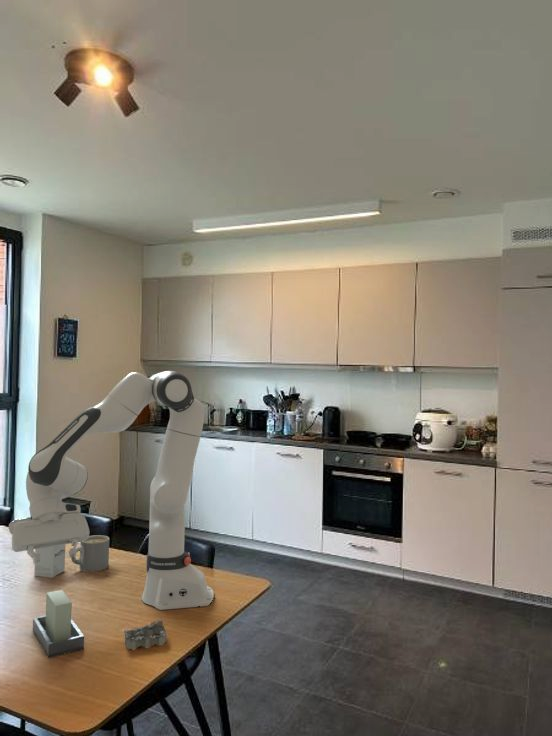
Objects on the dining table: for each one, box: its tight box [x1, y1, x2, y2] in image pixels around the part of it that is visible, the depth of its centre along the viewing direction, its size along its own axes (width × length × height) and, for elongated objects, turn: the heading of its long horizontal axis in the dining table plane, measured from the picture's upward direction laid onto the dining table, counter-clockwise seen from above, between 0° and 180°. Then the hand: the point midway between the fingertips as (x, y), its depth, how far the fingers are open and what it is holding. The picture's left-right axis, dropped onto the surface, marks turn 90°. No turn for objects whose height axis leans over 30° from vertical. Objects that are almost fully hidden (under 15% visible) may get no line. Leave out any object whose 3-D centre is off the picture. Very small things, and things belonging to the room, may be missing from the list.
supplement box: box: [34, 544, 67, 579], centre depth 193 cm, size 7×7×13 cm
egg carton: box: [123, 620, 168, 651], centre depth 146 cm, size 11×8×4 cm
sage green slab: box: [45, 589, 73, 642], centre depth 146 cm, size 4×10×10 cm, turn 35°
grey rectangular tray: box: [32, 614, 85, 659], centre depth 146 cm, size 9×18×3 cm, turn 35°
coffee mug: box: [70, 534, 110, 573], centre depth 200 cm, size 13×10×10 cm
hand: (55, 558), depth 151 cm, fingers open, 8 cm apart
